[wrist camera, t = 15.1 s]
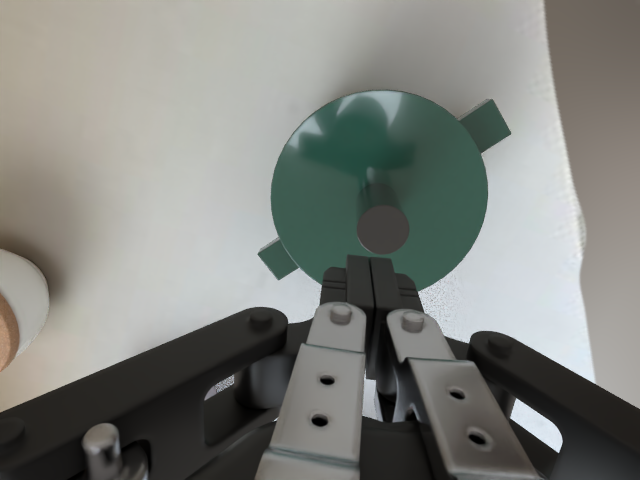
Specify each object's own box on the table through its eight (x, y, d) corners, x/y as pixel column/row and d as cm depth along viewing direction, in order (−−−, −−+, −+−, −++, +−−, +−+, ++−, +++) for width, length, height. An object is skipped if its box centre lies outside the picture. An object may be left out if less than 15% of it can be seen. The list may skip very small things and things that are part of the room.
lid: (232, 172, 27) (199, 196, 21) (412, 40, 23) (431, 25, 18) (348, 323, 30) (347, 380, 24) (520, 225, 27) (567, 264, 21)
